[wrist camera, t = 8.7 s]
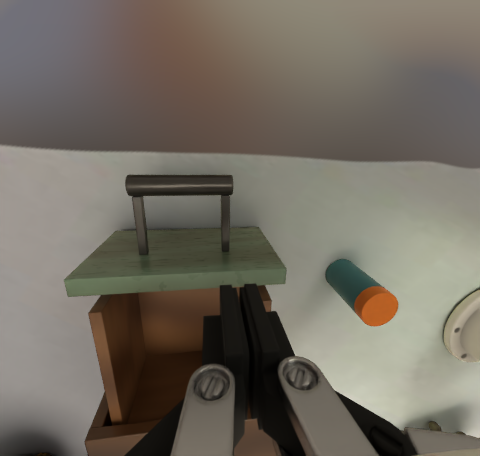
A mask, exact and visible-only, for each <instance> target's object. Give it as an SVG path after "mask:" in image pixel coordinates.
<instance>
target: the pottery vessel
mask: <svg viewBox="0 0 480 456" xmlns="http://www.w3.org/2000/svg"><path fill="white" fill-rule="evenodd" d="M37 456H52V455H50V454H48V453H44V454H42V453H40V454H38V455H37Z"/></svg>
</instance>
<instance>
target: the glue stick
mask: <svg viewBox="0 0 480 456" xmlns="http://www.w3.org/2000/svg"><path fill="white" fill-rule="evenodd" d="M326 280H327V282H328V283H329V284H330V285H331V286H332V287H333V289H334V290H335V291H336V292H337V293H338V294H339V295H340V296H341V297H342V298H343V300H344V301H345V302H346V303H347V304H348V305H349V306H350V307H351V308H352V309H353V311H354V312H355V313H356V314H357V315H358V316H359V317H360V318H361V319H362V321H363V322H364V323H365V324H367V325H369V326H380V325H383V324H385V323H387V322H388V321H390V320H391V319H392V318H393V317H394V315H395V314H396V312H397V309H398V301H397V299H396V297H395V296H394V295H393V294H391V293H390V292H389V291H388V290H386V289H385V288H384V287H382V286H381V285H380V284H379V283H377V282H376V281H375V280H374V279H372V278H371V277H370V276H368V275H367V274H366V273H365V272H363V271H362V270H361V269H360V268H358V267H357V266H356V265H354V264H353V263H352V262H351V261H349V260H346V259H340V260H337V261H335V262H333V263H332V264H331V265H330V266H329V267H328V269H327V271H326Z"/></svg>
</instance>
